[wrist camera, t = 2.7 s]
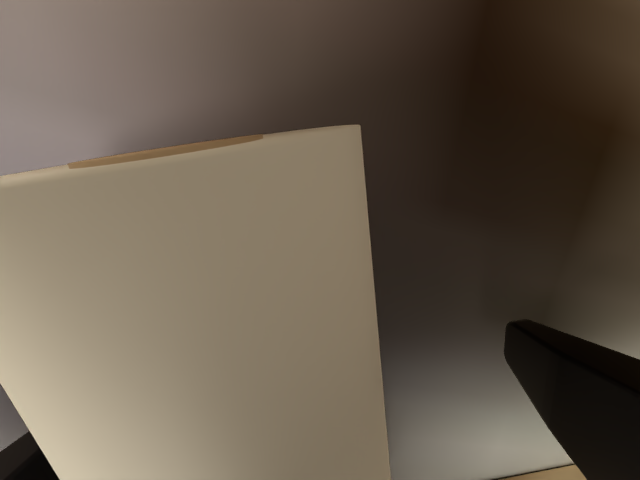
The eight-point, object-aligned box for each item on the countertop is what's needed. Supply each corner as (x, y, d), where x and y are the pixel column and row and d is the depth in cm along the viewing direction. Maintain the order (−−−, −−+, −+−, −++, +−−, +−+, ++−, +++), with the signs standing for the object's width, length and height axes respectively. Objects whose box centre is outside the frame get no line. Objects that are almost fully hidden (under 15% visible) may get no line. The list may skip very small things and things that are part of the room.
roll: (419, 509, 9) (355, 873, 5) (268, 447, 11) (137, 656, 7) (402, 112, 5) (90, 180, 1) (187, 142, 8) (-175, 198, 3)
